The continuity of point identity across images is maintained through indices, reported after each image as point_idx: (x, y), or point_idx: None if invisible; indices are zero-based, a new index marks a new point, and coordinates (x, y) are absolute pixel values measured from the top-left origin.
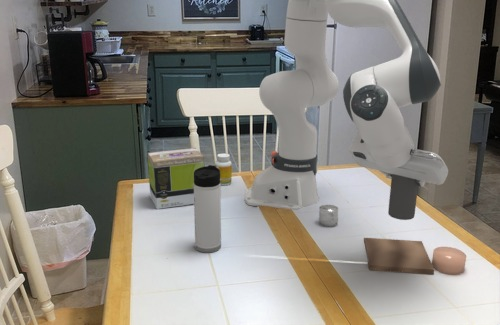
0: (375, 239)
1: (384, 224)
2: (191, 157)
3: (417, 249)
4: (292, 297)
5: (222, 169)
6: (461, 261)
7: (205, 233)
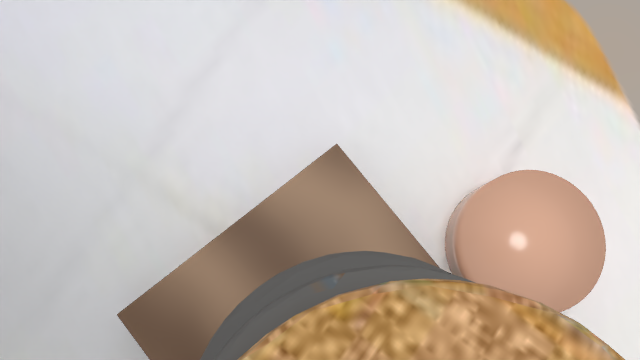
0: (170, 289)
1: (100, 71)
2: None
3: (365, 234)
4: None
5: None
6: (600, 265)
7: None
